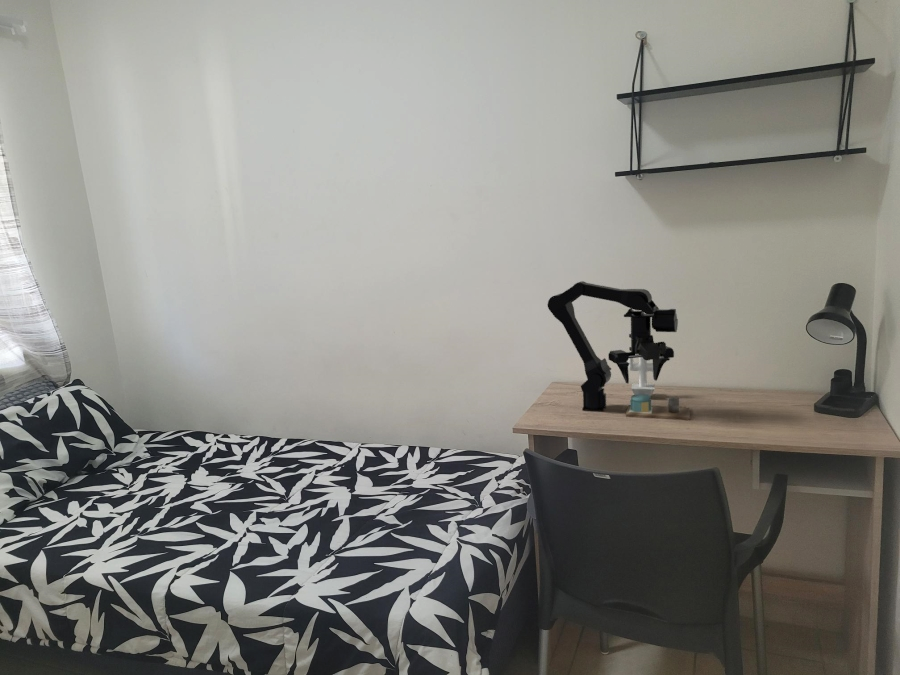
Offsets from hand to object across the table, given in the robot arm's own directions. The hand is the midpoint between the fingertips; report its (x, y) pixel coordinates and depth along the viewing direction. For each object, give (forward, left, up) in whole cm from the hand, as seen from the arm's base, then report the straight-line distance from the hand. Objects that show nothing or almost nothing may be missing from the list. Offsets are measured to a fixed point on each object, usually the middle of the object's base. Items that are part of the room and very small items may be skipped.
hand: (641, 381), depth 189 cm
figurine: (-1, +18, -10) cm, 21 cm away
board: (+5, 0, -10) cm, 11 cm away
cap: (0, 0, -9) cm, 9 cm away
